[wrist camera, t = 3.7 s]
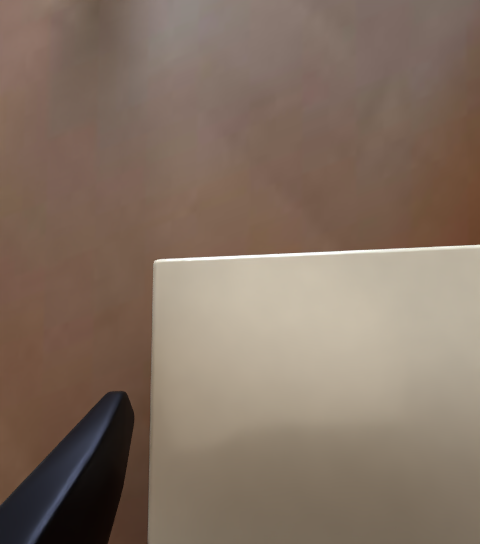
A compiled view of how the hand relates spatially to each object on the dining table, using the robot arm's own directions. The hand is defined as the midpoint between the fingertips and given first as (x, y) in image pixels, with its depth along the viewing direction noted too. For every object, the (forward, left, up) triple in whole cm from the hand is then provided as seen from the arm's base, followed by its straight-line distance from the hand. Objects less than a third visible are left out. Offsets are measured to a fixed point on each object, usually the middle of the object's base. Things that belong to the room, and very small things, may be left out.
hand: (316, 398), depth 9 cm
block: (0, 0, -8) cm, 8 cm away
